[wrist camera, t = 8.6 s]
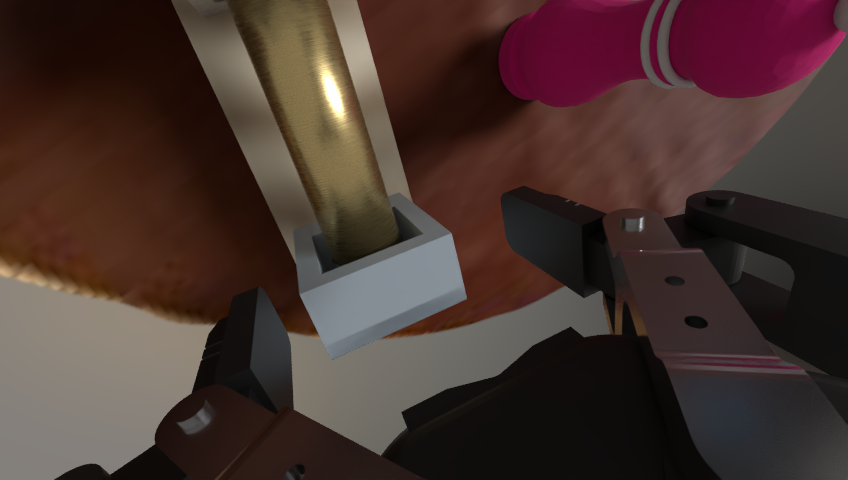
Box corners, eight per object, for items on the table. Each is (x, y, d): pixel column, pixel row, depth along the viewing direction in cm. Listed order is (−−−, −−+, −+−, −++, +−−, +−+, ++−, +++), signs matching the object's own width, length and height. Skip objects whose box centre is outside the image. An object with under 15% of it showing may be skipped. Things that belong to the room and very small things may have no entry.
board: (122, -109, 18) (114, -119, 17) (314, -134, 20) (316, -145, 19) (305, 279, 29) (306, 285, 28) (418, 234, 31) (422, 238, 30)
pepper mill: (494, 112, 29) (805, 134, 12) (488, 10, 26) (892, -159, 9) (566, 98, 31) (923, 98, 14) (568, 2, 28) (1026, -151, 11)
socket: (293, 230, 26) (299, 294, 17) (399, 192, 28) (451, 233, 19) (315, 281, 28) (331, 360, 19) (413, 242, 30) (466, 298, 21)
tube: (196, -67, 16) (169, -121, 12) (294, -84, 18) (299, -137, 14) (333, 260, 24) (343, 292, 20) (395, 236, 25) (416, 261, 21)
